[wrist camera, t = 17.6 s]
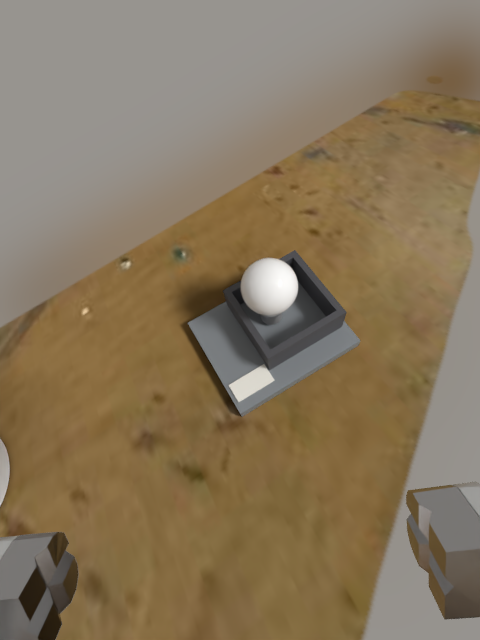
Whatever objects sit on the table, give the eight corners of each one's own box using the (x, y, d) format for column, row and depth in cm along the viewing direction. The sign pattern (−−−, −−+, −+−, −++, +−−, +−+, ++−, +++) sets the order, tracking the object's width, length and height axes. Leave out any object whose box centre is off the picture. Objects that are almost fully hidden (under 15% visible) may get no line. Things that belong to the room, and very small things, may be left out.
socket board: (241, 416, 45) (236, 406, 40) (190, 327, 51) (179, 308, 46) (358, 345, 47) (366, 327, 43) (295, 267, 53) (296, 244, 49)
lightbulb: (239, 307, 50) (228, 260, 40) (283, 289, 50) (282, 237, 41) (258, 348, 47) (252, 308, 37) (305, 328, 48) (310, 283, 38)
